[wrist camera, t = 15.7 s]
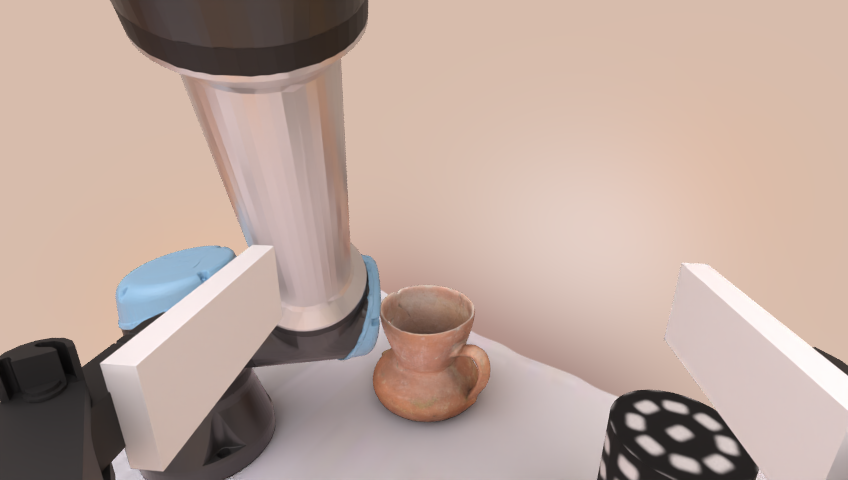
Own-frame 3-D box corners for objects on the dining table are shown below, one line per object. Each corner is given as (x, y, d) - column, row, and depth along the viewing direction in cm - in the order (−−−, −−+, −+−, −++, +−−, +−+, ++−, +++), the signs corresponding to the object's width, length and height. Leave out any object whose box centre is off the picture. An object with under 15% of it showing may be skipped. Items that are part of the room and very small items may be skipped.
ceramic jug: (346, 393, 62) (340, 303, 57) (416, 348, 72) (417, 268, 67) (445, 466, 51) (450, 363, 46) (512, 401, 61) (522, 310, 56)
